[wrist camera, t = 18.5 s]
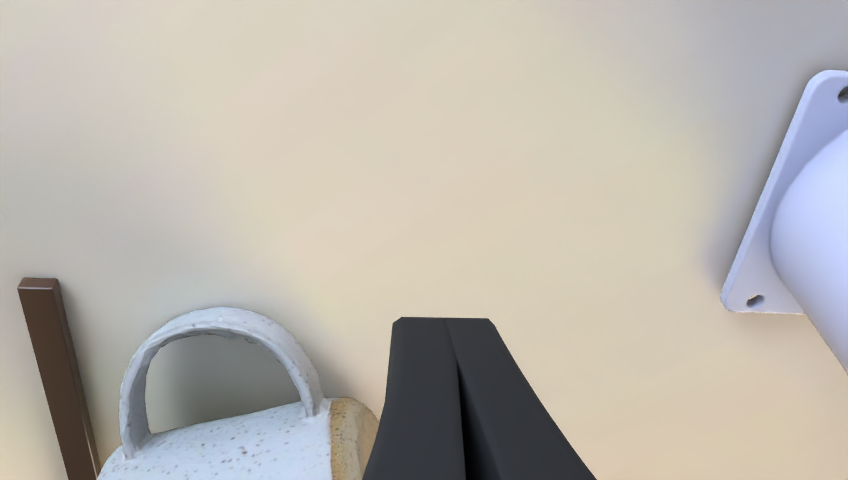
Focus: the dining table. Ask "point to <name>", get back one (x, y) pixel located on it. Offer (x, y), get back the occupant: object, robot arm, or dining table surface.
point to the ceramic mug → (243, 418)
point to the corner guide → (60, 375)
